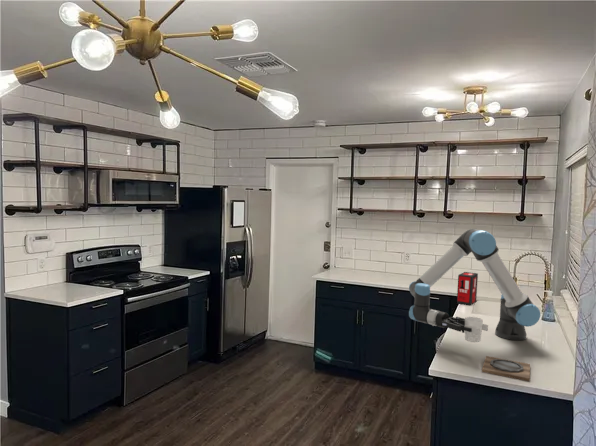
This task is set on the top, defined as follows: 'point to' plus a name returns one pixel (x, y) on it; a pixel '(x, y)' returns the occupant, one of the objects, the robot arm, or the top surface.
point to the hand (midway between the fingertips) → (483, 329)
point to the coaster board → (506, 368)
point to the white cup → (477, 324)
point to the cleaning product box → (467, 288)
